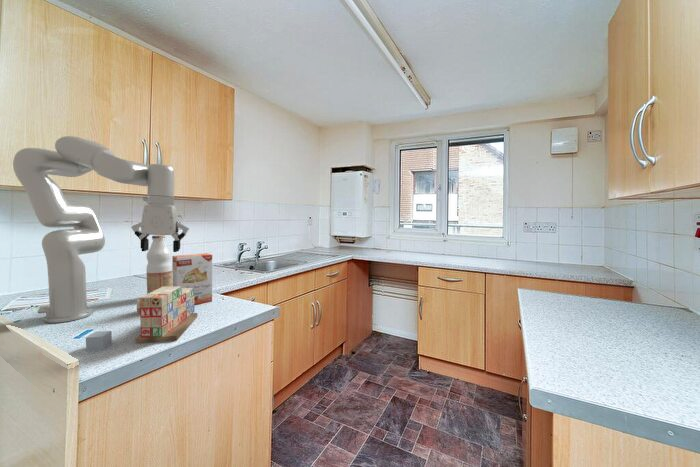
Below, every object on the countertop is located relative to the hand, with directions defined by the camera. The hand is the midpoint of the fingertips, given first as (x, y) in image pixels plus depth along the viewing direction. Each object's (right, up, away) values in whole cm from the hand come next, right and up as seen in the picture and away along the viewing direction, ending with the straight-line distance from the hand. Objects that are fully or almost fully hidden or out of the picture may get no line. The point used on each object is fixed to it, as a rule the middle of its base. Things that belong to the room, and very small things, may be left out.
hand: (160, 251), depth 97 cm
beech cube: (-13, -24, +11) cm, 30 cm away
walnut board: (+5, -26, -4) cm, 26 cm away
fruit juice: (-20, -23, +30) cm, 43 cm away
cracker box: (-1, -24, +23) cm, 33 cm away
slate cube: (-6, -26, -17) cm, 32 cm away
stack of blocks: (+5, -24, -3) cm, 25 cm away
